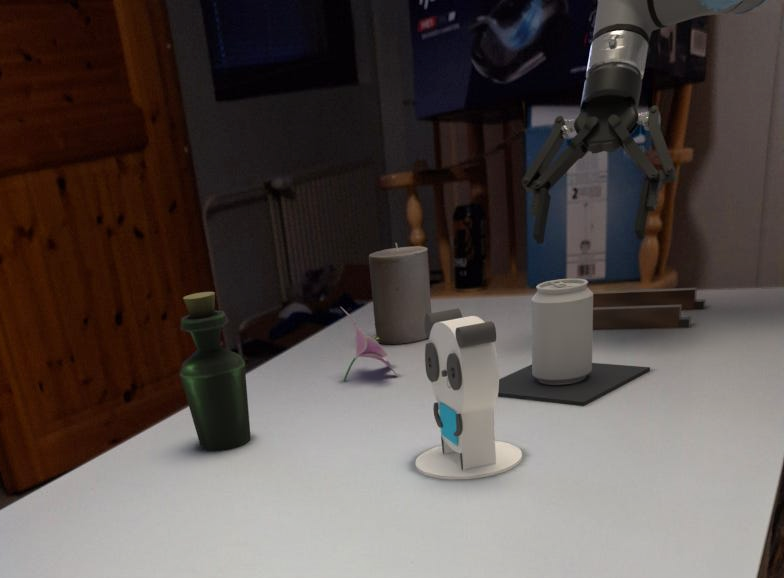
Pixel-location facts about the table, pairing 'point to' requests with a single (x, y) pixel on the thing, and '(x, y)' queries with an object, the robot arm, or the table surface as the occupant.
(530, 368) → the mat
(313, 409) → the table surface
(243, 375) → the potion bottle
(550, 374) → the can
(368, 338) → the lily
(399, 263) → the pillar candle
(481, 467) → the panda figurine
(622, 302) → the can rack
